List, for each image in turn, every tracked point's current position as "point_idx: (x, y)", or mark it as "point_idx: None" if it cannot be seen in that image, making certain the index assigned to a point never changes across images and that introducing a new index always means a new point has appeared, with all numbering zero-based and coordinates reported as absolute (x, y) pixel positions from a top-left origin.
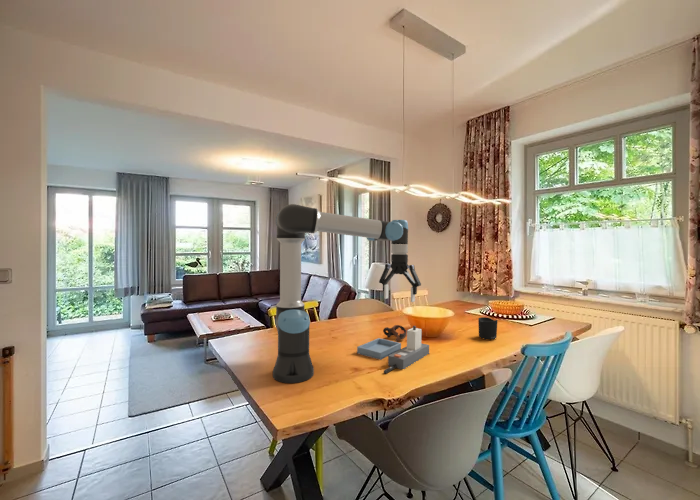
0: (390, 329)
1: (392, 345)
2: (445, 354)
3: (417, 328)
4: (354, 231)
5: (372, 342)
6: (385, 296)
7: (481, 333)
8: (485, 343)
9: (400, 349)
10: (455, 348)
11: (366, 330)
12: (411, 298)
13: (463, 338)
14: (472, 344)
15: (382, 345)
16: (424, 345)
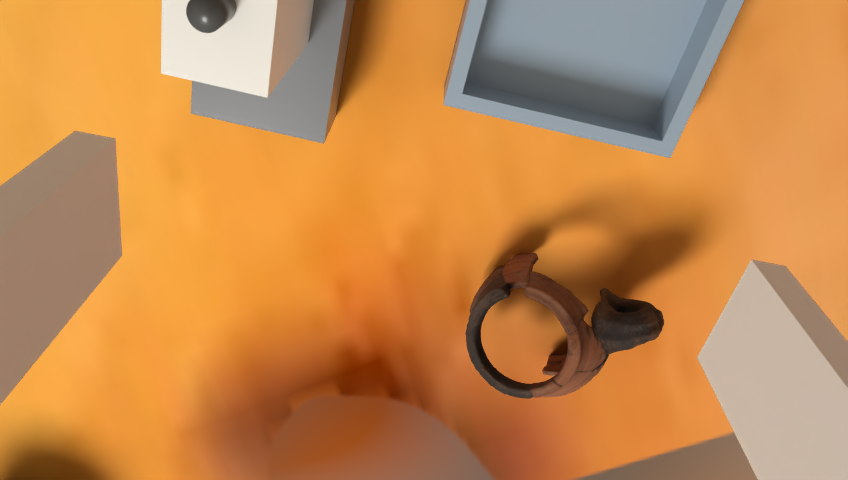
0: (599, 328)
1: (521, 97)
2: (109, 129)
3: (211, 80)
4: None
5: (707, 31)
6: (778, 291)
7: None
8: (3, 427)
9: None
10: (107, 277)
11: None
12: (51, 169)
13: (146, 463)
14: (55, 386)
15: (609, 79)
16: None
